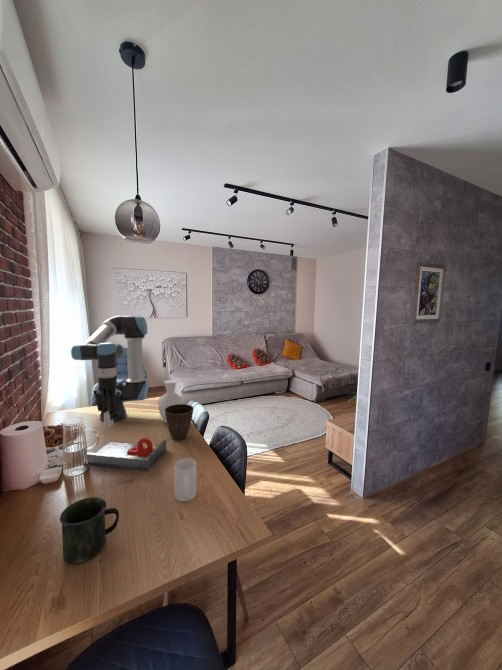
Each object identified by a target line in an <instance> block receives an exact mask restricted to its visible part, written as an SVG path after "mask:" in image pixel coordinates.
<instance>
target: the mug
mask: <svg viewBox="0 0 502 670" xmlns="http://www.w3.org/2000/svg"><path fill="white" fill-rule="evenodd" d="M110 514H111V515H112V514H115V516H116V517H115V519H114V521H113V524H111V526H109V527H107V528H106V515H110ZM119 518H120V511H119V509H118V508H116V507H110V508H107V502H106V500H105V499H104V498H102V497H100V496H99V497H98V496H91V497H85V498H82V499H79V500H76V501H74V502H73V503H71V504H70V505H68V506H67V507H66V508H65V509H63V511H62V512H61V513H60V516H59V523H60V524H61V534H62V535H61V536H62V537H61V538H62V556H63V559H64V561H65V562H67V563H68V564H74V565H76V564H82V563H85V562H87V561H89V560H91V559H93V558H94V557H96V556H97V555H98V554H99V553H100V552H101V550H102V549H103V548H104V546H105V545H106V541H107V539H106V535H109V534H110V533H111V532H113V531H114V530H115V529H116V527H117V526H118V523H119V520H120V519H119Z"/></svg>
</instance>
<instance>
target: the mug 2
mask: <svg viewBox="0 0 502 670" xmlns="http://www.w3.org/2000/svg"><path fill="white" fill-rule="evenodd" d="M197 464H198V463H197V461H196V460H195V459H193V458H191V457H187V458H186V457H185V458H181V459H179V460H177V461H176V462H175V464H174V473H173V483H174V499H176V500H177V501H179V502H188V501H191V500H192V499H194V498H195V497H196V495H197Z"/></svg>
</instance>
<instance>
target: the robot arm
mask: <svg viewBox="0 0 502 670" xmlns="http://www.w3.org/2000/svg"><path fill="white" fill-rule="evenodd" d="M147 334H148V324H147V320H146V318H145V317H144V316H140V315H115V316H112V317H110V318H108V319H105V320H104V321H103V322H101V324H99V326H98V329H97V330H96V331H95V332H94V333H93V334H91V336H89V338H88V339H86V340H85V342H84V343H82V344H80V343H79V344H73V346H72V347H71V350H70V355H71V358H72V360H75V361H97V376H98V379H97V382H98V383H97V384H98V388H97V389H95V390H93V394H94V397H95V401H96V406H97V407H96V408H97V411H98V412H100V414H99V420H100V421H102V422H103V427H104V428H106V427H108V428H111V427H112V426H114V422H115V421H120V420H123V419H125V418H126V417H127V410H126V407H125V405H124V402H132V401H133V402H135V401H136V402H137V401H143V400H145V399H146V398H147V396H148V395H147V394H148V391H149V382H148V381H146V378H145V377H144V375H143V374H144V373H143V368H144V367H143V340H144V338H145V336H146V335H147ZM117 335H120V336H121V335H124V339H125V340H126V342H127V376H128V377H127V378H126V379H125V382H124V381H123V379H117V374H118V373H117V372H118V371H117V370H118V369H117V360H119V359H121V358H122V357H123V356H124V355H125V347H124V346H123V345H122V344H120V343H115V342H109V341H108V340H110V338H112V337H114V336H117Z"/></svg>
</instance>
